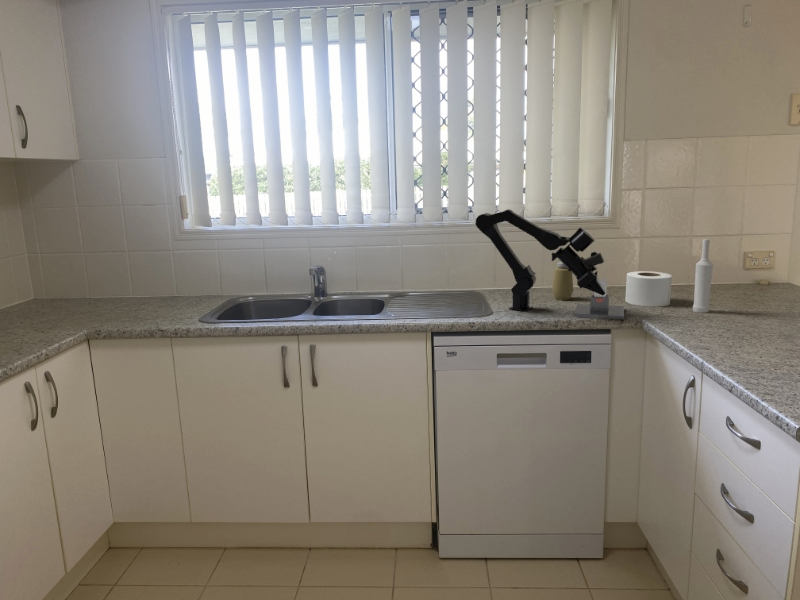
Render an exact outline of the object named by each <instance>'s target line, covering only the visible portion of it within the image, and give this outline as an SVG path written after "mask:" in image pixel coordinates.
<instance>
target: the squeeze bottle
mask: <svg viewBox="0 0 800 600" xmlns="http://www.w3.org/2000/svg"><path fill="white" fill-rule="evenodd" d="M556 266H557V267H555V269H554V272H553V277H552V289H551V291H552V294H553V297H554V299H555V300H558V301H567V300H570V299H571V297H572V294H573V292H574V281H573V273H572V272H571V271H570V272H569V271H568V268H567V267H566V266H565V265H564V264H563V263H562V262H561V261H560V260H559V262H557V263H556Z"/></svg>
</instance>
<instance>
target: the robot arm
mask: <svg viewBox="0 0 800 600" xmlns="http://www.w3.org/2000/svg"><path fill="white" fill-rule="evenodd" d="M474 222H475V226H476V228H477V229H478V230H479V231H480V232H481V233H482V234H483V235H485V236H486V237H487V238H488V239H490V241H491V242H492V244H493V245H494V247H495V248H496V250H497V252H498V253H499V254H500V256H501V257H502V258H503V260H504V261H505V262H506V264H507V265H508V267H509V268H510V269H511V272H512V274H513V277H514V279H515V282H516V283H515V284H514V285H513V286H512V287H511V293H512V306H510V307H508V310H514V311H520V312H525V311H528V310H532V309H534V308H533V306H531V305H530V298H531V297H530V290H531V289H532V288H533V286H534V285H535V284H536V282H537V276H536V274H537V273H536V272H535V271H534V270H533V269H532V267H531V265H530V264H528V265H527V266H526V265H524V264H523V263H522V262H521V260H520V259H519V258H518V256H517V255H516V253H515V252H514V251H513V249H512V248H511V246H510V245H509V243H508V242H507V240H506V239H505V237H504V236H503V235H502V234H501V232H500V229H499V226H498V224H501V223H503V222H504V223H505V222H507V223H509V224H510V225H511V226H513V227H516V228H518V229H519V230H521V231H522V232H524V233H526V234H527V235H529V236H531V237H532V238H534V240H535V239H536V241H537V242H538V243H539V244H540V245H541V246H543V247H544V248H545V249H546V250H548V251H555V250H557V249H558V250H557V251H555V252H551V262H554V261H555V260H556V259H558V260H559V262H560V261H561V262H562V263H563V264H564V265H565V266H566V267H567V268H568V271H569V272H570V271H571V272H572V275H574V277H575V278H576V280H577V282H576V285H577V286H578V287H579V288H580V289H582V288H583V289H586V290H589V291H591V292H592V293H594V292H596V293H598V294H601V295H604V294H605V292H604V291H603V289H602V288H601V286H600V285H599V283H598V282H597V278H598V267H596V266H597V265H602V264H603V263H604V262H605V260H604V258H603V255H602V254H601V252H596V251H593V252H590V256H588V257H587V258H584V257H583V256H580V255H579V254H578V253H579V252H580V253H581V252H582V253H583V252H584V251H586V249H588V247H590V246H591V245H592V244H593V243H594V242H595V239H594V238H593V236H591V234H590V233H588V232H587V231H585V230H584V229H583V228H582V227H579V228H577V230H576V231H575V232H574V233H573V234H572V235H571V236H570V237H568V236H561V235H560V234H559V233H558V232H555V231H552V230H550V229H546V228H543V227H540V226H539V225H536V224H535V223H533V222H531V221H529V220H528V219H526V218H524V217H523V216H521V215H519V214H518V213H515V212H514V211H513V210H512V209H506V210H503V211H499V212H496V213H488V212H486V213H482V214H479V215H478V216H477V217H476V219H475V221H474ZM567 244H568V245H567ZM566 245H567V246H566ZM564 246H565V247H564ZM594 271H595V272H594Z"/></svg>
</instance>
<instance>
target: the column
mask: <svg viewBox="0 0 800 600" xmlns="http://www.w3.org/2000/svg"><path fill="white" fill-rule="evenodd" d="M597 282H598V283H599V285H600V286H601V288H602V289H603V291H604V292H605V294H604V295H601V294H598V293H596V292H593V294H594V297H598V298H606V295H607V285H608V284H607V283H608V278H605V277H602V278H600V277H597Z"/></svg>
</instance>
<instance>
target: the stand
mask: <svg viewBox="0 0 800 600" xmlns="http://www.w3.org/2000/svg"><path fill="white" fill-rule="evenodd" d="M589 302H590V304H588V303H586V304H585V303H576V307H575V310H574V312H573V317H574V318H589V319H606V320H607V319H608V320H609V319H610V320H624V319H625V307H624V305H615V304H614V305H612V304H611V305H610V294H606V298H598V297H594V293H591V294H590V300H589Z"/></svg>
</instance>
